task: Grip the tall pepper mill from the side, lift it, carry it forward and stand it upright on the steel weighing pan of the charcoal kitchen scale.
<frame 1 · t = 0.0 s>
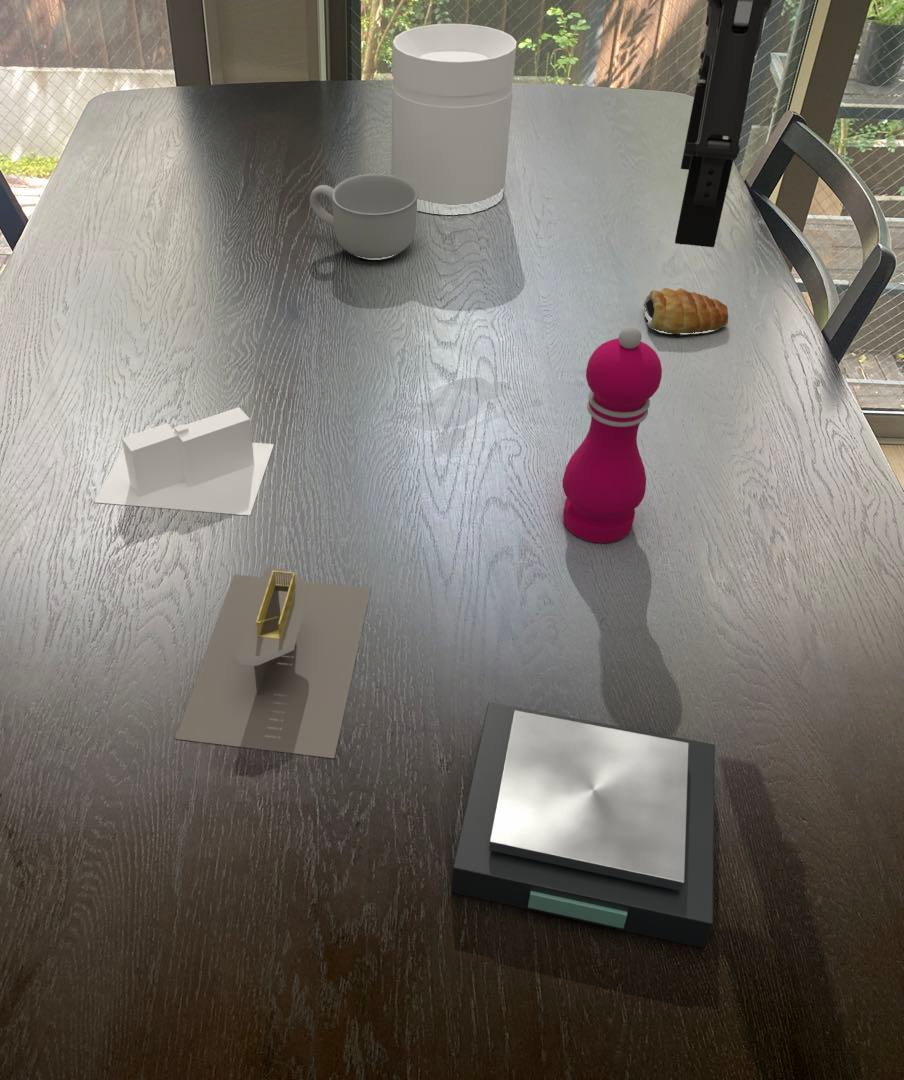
hand: (696, 204, 82), 29 cm above the table, tool pointing down, fingers open, 13 cm apart
teacup: (364, 249, 140), on the table
platform: (280, 660, 86), on the table
napkin holder: (187, 473, 104), on the table
pastry: (677, 324, 125), on the table
pan: (592, 794, 71), point 4 cm above the table, slide at 0.0 cm
pepper mill: (596, 523, 98), on the table
scale: (584, 828, 74), on the table
canister: (447, 192, 153), on the table
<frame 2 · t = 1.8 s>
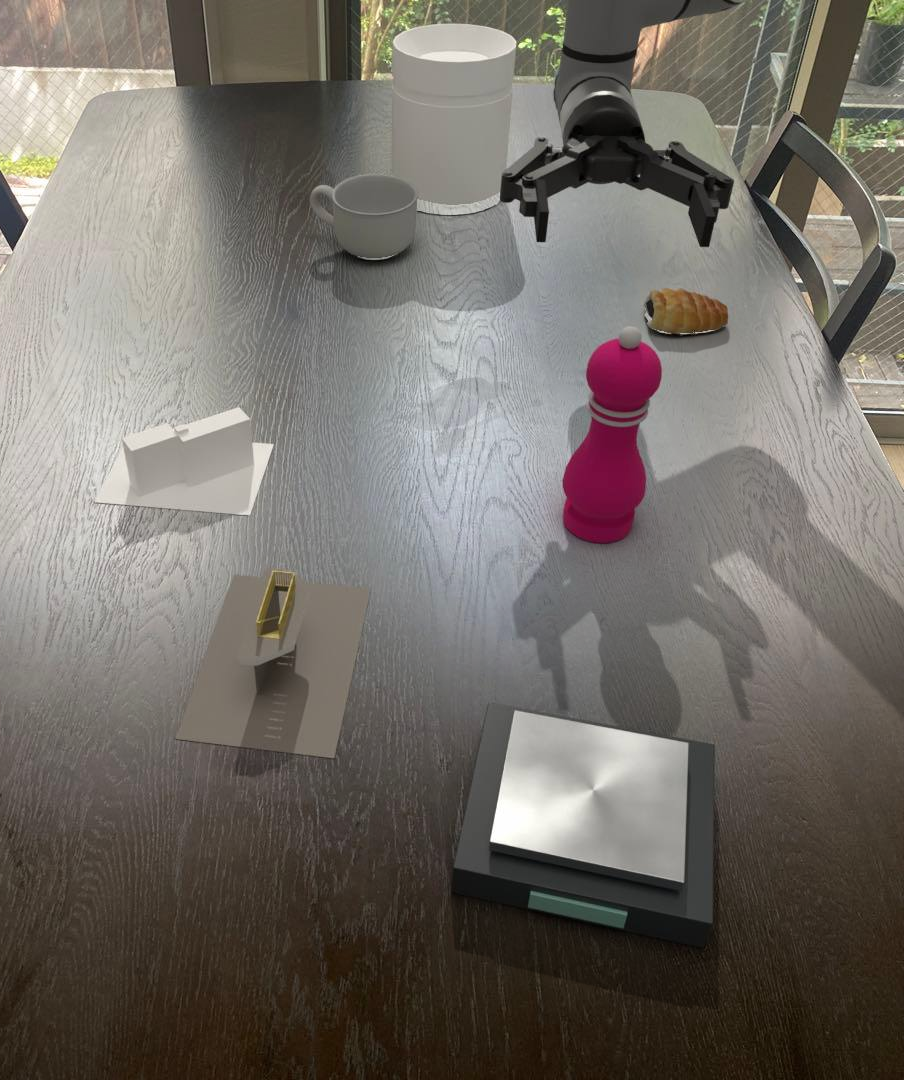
hand: (625, 229, 90), 24 cm above the table, tool horizontal, fingers open, 13 cm apart
nothing on the table moved.
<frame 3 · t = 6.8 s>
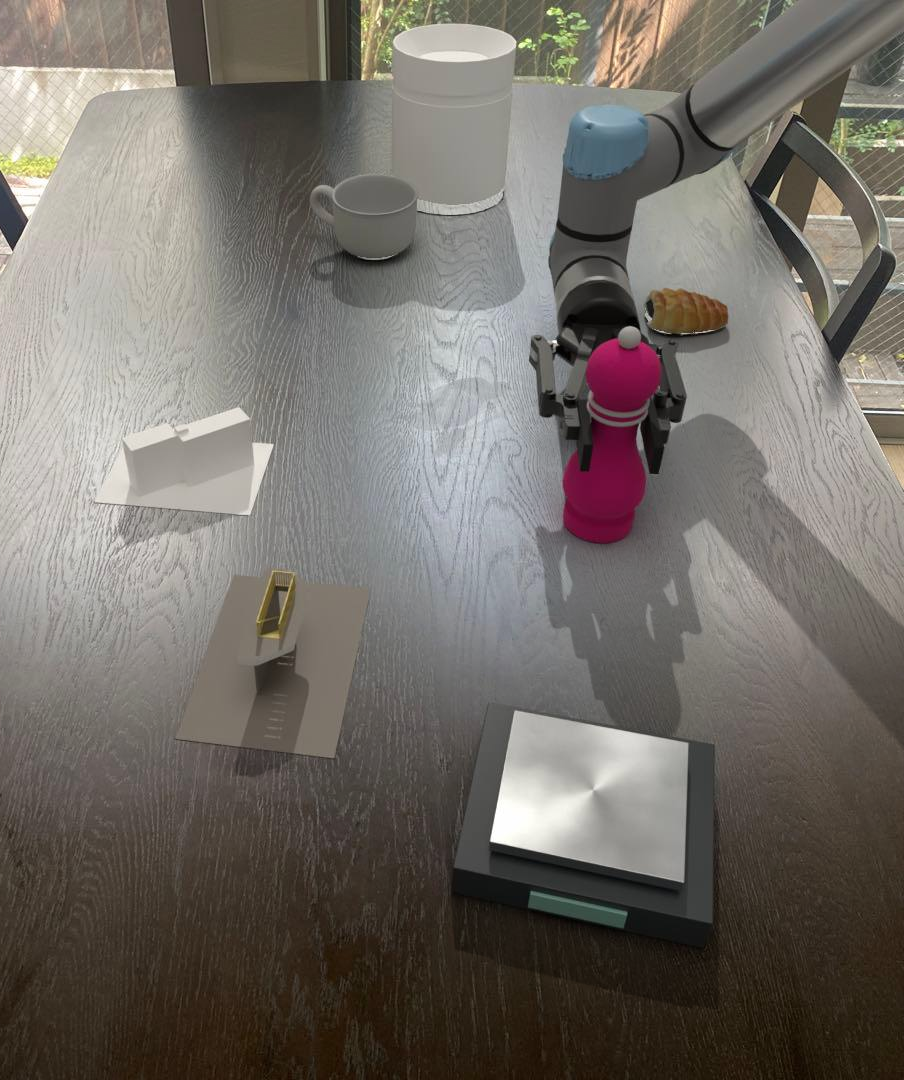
hand: (621, 459, 87), 11 cm above the table, tool horizontal, fingers closed on pepper mill, 5 cm apart
pepper mill: (597, 522, 98), on the table, touching gripper
everything else where it was.
when the fingers open (15 cm above the table, at t = 15.6 s): pepper mill stays where it is, resting on pan.
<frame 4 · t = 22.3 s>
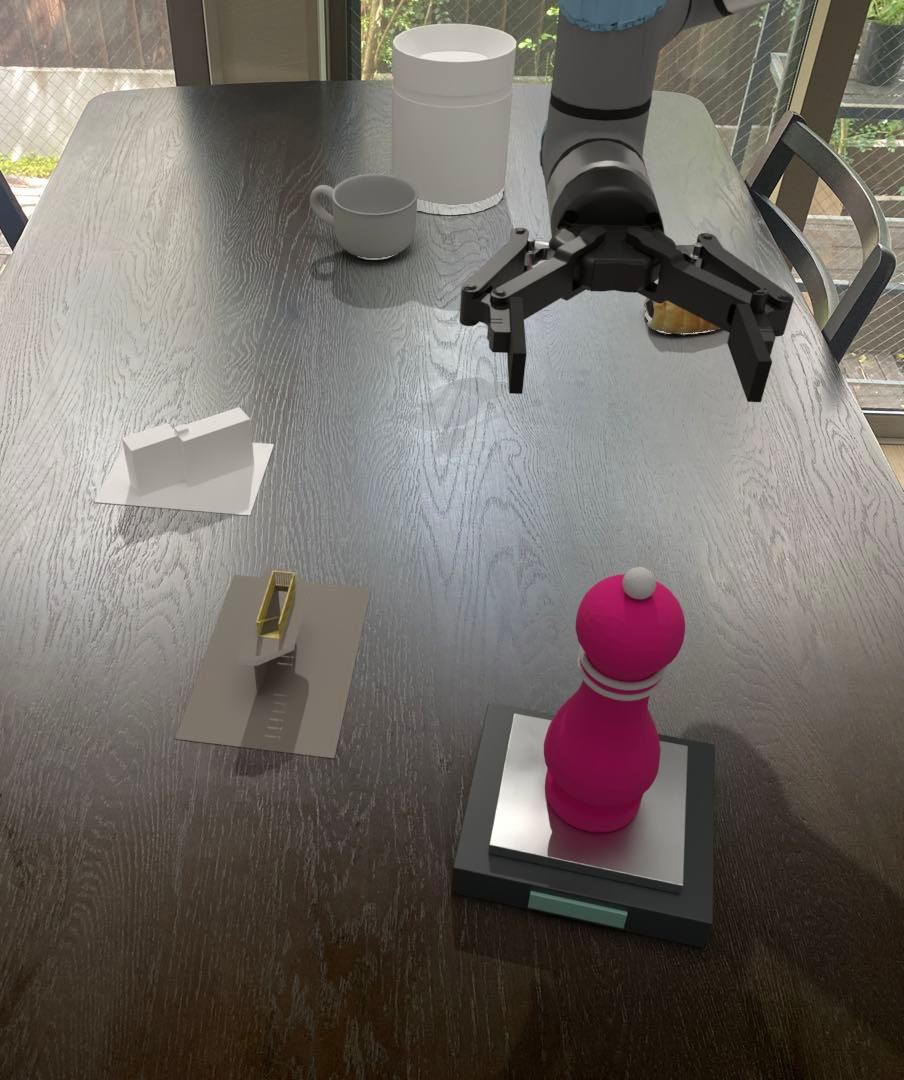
hand: (638, 378, 61), 30 cm above the table, tool horizontal, fingers open, 13 cm apart
pan: (591, 797, 72), point 4 cm above the table, slide at -0.4 cm, touching pepper mill
pepper mill: (591, 794, 71), point 4 cm above the table, touching pan
everything else where it was.
at the end: pepper mill inside the target area on the scale (0.0 cm from its centre), point 3.9 cm above the scale's base; pepper mill tilted 0°; pepper mill touching pan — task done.
